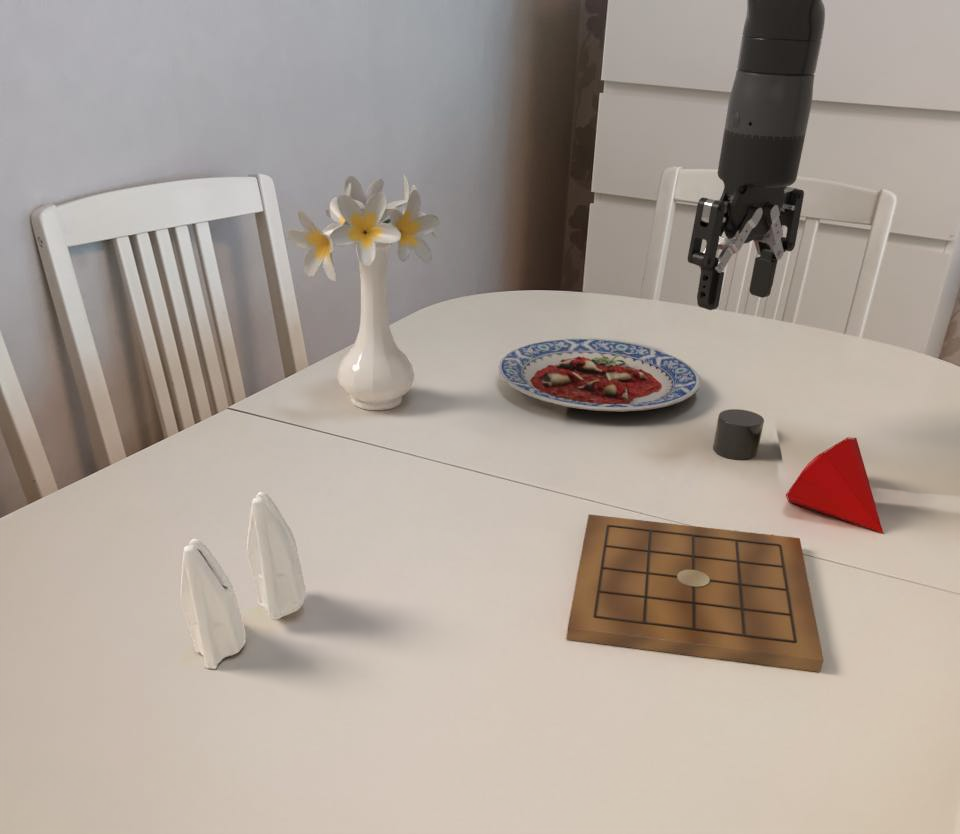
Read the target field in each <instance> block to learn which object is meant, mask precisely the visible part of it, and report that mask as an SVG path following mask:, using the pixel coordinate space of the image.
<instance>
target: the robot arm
mask: <svg viewBox="0 0 960 834" xmlns="http://www.w3.org/2000/svg"><path fill="white" fill-rule="evenodd" d="M746 2H747V3H746V15H745V21H744V25H743V29H742V36H741V42H740V47H739V53H738V60H737V66H736V68H737V69H736V72H735V77H734V80H733V84H732V86H731V87H732V88H731V91H730V94H729V100H728V106H727V111H726V117H725V123H724V129H723V135H722V141H721V149H720V154H719V161H718V168H717V176H718V178H719V179H720V180H721V181H722V182H723V185H724V187H723V191H722V193H721V196H720V197H719V199H711V198H707V197H700V198H699V200H698V202H697V205H696V212H695V216H694V222H693V228H692V232H691V237H690V241H689V242H690V243H689V249H688V252H687V262H688V263H689V264H693V265H695V266H698V267H699V269H700V275H699V281H698V282H699V283H698V287H697V295H696V301H697V306H698V307H699V308H701V309H704V310H705V309H706V310H708V311H712V310H717V309H718V308H719V306H720V301H721V293H722V289H723V282H724V279H725V272H724V270H725V269H726V267H727V265H728V264H729V262H730V260H731V258H732V257H733V255H735V254H737V253H739V252H740V251H741V249H742V248H743V246H744V244H749V243H750V242H753V243H754V247H755V249H756V253H757V255H758V256H756V257H754V258H755V259H754V262H753V268H752V273H751V280H750V284H749V285H750V286H749V293H750V295H752V296H755V297H758V298H762V299H763V298H768V297H769V296H770V295H771V293H772V292H771V291H772V289H773V288H772V287H773V285H774V279H775V274H776V270H777V266H778V265H777V264H778V261H780V260H781V259H782V258H783V256H784V254H785V253H786V252H793V250H794V249H795V247H796V241H797V236H798V231H799V225H800V221H801V220H800V219H801V213H802V208H803V204H804V203H803V202H804V196H805V192H804V190H803V189H801V188H800V189H799V188H797V187H791V186H792V185H794V183H795V182H796V181H797V179H798V173H799V169H800V163H801V159H802V154H803V148H804V144H805V139H806V135H807V134H806V133H807V129H808V123H809V119H810V115H811V114H810V113H811V109H812V105H813V104H812V103H813V95H814V94H813V93H814V81H815V74H816V70H817V65H818V61H819V55H820V51H821V47H822V41H823V35H824V30H825V23H826V22H825V21H826V8H825V5H824V1H823V0H746ZM783 226H785V227H786V234H785V236H784V231H783ZM723 234H724V235H725V237H724V236H723ZM704 240H705V242H706V245H705V248H704V250H703V251H701V249H702V244H703V241H704ZM719 250H721V251H720V253H719V255H718V257H717V252H718V251H719Z"/></svg>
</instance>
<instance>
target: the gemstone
mask: <svg viewBox="0 0 960 834" xmlns="http://www.w3.org/2000/svg"><path fill="white" fill-rule="evenodd" d="M785 497H786V500H787V502H788V503H791V504H794V505H797V506H799V507H803V508H806V509H809V510H812V511H815V512H818V513H821V514H824V515H827V516H831V517H833V518H836V519H839V520H842V521H845V522H847V523H851V524H853V525H856V526H860V527H862V528H866V529H870V530H872V531H875V532H878V533H881V534H884V530H883V525H882V523H881V519H880V516H879V512H878V509H877V505H876V502H875V499H874V498H875V497H874V495H873V491H872V488H871V484H870V480H869V477H868V474H867V470H866V467H865V463H864V460H863V455H862V453H861V449H860V446H859V442H858V439H857V437H846V438H844V439H842V440H841V441H839V442H837V443H835V444H834V445H832V446H831V447H829V448H827V449H825V450H824V451H822V452H821V453H819V454H817V455H816V456H815V457H814V458H812V460H810V461H809V462H808V463H807V464H806V465H805V467H804V468H803V469H802V471H801V473H800V474H799V475H798V476H797V478H796V479H795V481H794V482H793V484H792V485H791V486H790V488H789V489H788V491H787V492H786V494H785Z"/></svg>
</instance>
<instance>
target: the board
mask: <svg viewBox="0 0 960 834" xmlns="http://www.w3.org/2000/svg"><path fill="white" fill-rule="evenodd" d="M586 520H587V521H586V527H585V531H584V537H583V542H582V548H581V553H580V560H579V565H578V570H577V575H576V580H575V586H574V590H573V597H572V601H571V608H570V613H569V619H568V623H567V630H566V640H568V641H575V642H577V641H578V642H584V643H593V644H600V645H607V646H616V647H622V648H631V649H639V650H647V651H653V652H661V653H670V654H676V655H683V656H684V655H685V656H686V655H687V656H692V657H699V658H700V657H701V658H708V659H715V660H724V661H730V662H731V661H732V662H737V663H738V662H739V663H748V664H754V665H761V666H762V665H763V666H769V667H777V668H784V669H793V670H800V671H808V672H817V673H820V672H821V671H822V668H823V664H824V654H823V649H822V645H821V640H820V635H819V630H818V624H817V619H816V614H815V609H814V604H813V599H812V593H811V588H810V584H809V578H808V573H807V567H806V563H805V557H804V553H803V548H802V542H801V538H800V537H794V536H784V535H776V534H767V533H757V532H748V531H739V530H731V529H722V528H713V527H705V526H696V525H695V526H694V525H687V524H679V523H678V524H677V523H669V522H660V521H651V520H642V519H633V518H624V517H616V516H608V515H606V516H605V515H598V514H590V513H589V514H588V516H587V519H586Z"/></svg>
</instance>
